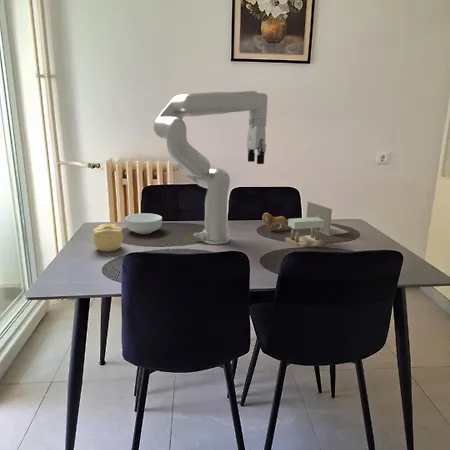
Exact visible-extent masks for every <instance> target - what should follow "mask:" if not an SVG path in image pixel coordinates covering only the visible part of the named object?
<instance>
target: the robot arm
mask: <svg viewBox="0 0 450 450" xmlns="http://www.w3.org/2000/svg"><path fill="white" fill-rule="evenodd" d="M169 101H170V102H169V103H167V105H166V106H165V108H164V109H162V111H161V112H160V113H159V115H158V116H157V117H156V119H155V121H154V123H153V131H154V132H155V134H156V136H157V137H159V138H161V139H166V146H167V152H168V154H169V155H170V157H171V158H172V159H173V160H174V161H175V162H176V163H177V167H178V170H179V171H180V173H181V174H182V175H184V176H185V177H186V178H188V179H190V180H191V181H192V182H193V183H194V184H196V185H197V186H199V187H201V188H204V189H206V194H205V197H204V229H202V231H201V232H194V233H193V237H194V238H198V239H200V240H201V242H202V243H205V244H208V245H224V244H228V243H229V242H230V240H231V237H230V236H228V235H227V231H228V230H227V229H228V228H227V227H228V226H227V224H228V223H227V221H228V194H229V189H230V184H231V177H230V174H229V173H228V172H227V171H226V170H224V169H223V168H219V167H214V166H211V163H210V160H209V159H208V158H207V157H206V156H205V155H203V154H202V153H201V152H200V151H198V150H197V149H196V148H195V147H194V146H193V145H191V144H190V142H189V141H188V138H187V125H186V123H185V121H184V120H183V119H184V117H201V116H208V115H209V116H210V115H223V114H230V113H240V112H249V113H248V129H247V130H248V131H247V137H246V148H247V162H248V163H249V162H251V163H253V162H256V164H257V165H264V163H265V155H266V150H267V149H266V148H267V144H266V128H267V117H268V116H267V115H268V113H267V112H268V95H267V94H266V93H263V92H258V91H255V90H249V91H248V90H245V91H228V92H227V91H214V92H213V91H210V92H197V93H196V92H195V93H194V92H193V93H182V94H181V93H180V94H177V95H175V96H174V97H173V98H172V99H171V100H169ZM256 152H257V154H256ZM255 157H256V160H255Z"/></svg>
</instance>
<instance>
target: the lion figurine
mask: <svg viewBox="0 0 450 450" xmlns="http://www.w3.org/2000/svg"><path fill="white" fill-rule="evenodd" d="M261 217H262V222H263V223H264V224H265V225H266V226H267V228H266V230H267V231H269V232H272V231H273V226H275V225H276V226H277V225H279V227H277V229H278V230H280V229H281V228H282V227H283V226H284V227H285V229H284V231H288V229H289V228H290V226H288V219H287V218H286V217H285V216H283V215H282V216H281V215H280V216H273V215H272V214H270V213H269V212H264V213H263V214H262V216H261Z"/></svg>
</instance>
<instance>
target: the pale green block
mask: <svg viewBox="0 0 450 450" xmlns="http://www.w3.org/2000/svg"><path fill="white" fill-rule="evenodd" d="M287 226H288V227H289V228H291V229H292V228H293V229H295V230H296V229H300V230H304V229H311V228H320V227H324V220H322V219H320V218H318V217H312V218H306V217H300V218H299V217H297V218H296V217H295V218H288V219H287Z"/></svg>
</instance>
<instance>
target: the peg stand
mask: <svg viewBox="0 0 450 450" xmlns="http://www.w3.org/2000/svg"><path fill="white" fill-rule="evenodd" d="M320 233H321V232H320V228H316V230H315V228H310V235H300V234H301V229H293V228H291V232H290V237H285V238H284V242H286V243H287V244H290V245H291V246H293V247H294V248H296V249H300V248H308V247H314V246H315V247H317V246H324V245H326V240H323V239H321V238H320Z"/></svg>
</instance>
